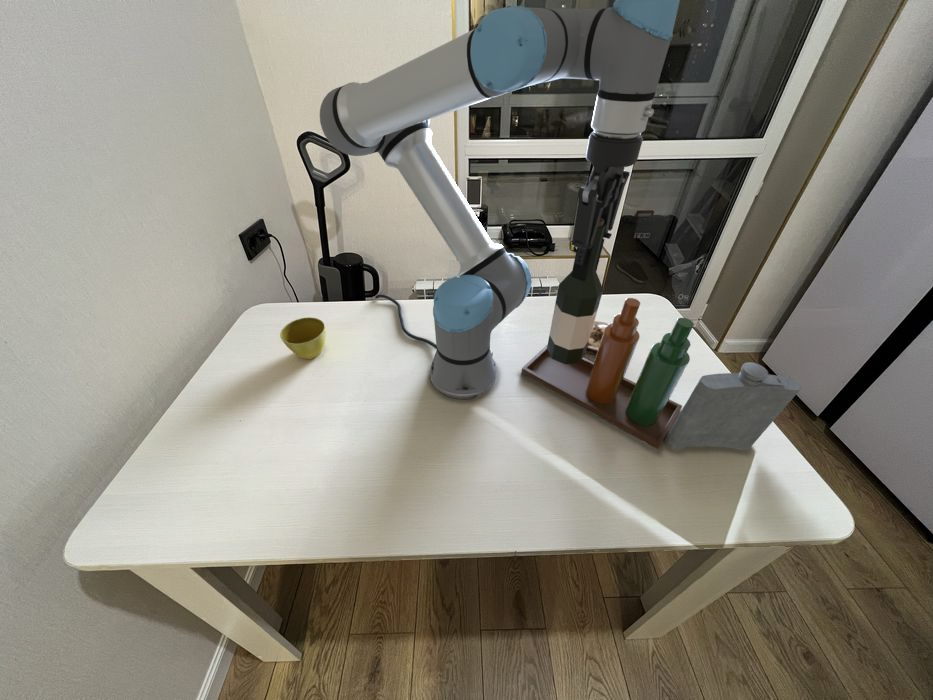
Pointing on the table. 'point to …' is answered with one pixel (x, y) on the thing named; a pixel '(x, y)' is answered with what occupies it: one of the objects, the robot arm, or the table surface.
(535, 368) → the tray
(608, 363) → the amber bottle
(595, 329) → the bowl of food
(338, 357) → the table surface
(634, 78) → the robot arm
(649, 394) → the green bottle
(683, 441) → the hip flask
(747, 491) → the table surface
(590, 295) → the wine bottle
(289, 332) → the flower pot
